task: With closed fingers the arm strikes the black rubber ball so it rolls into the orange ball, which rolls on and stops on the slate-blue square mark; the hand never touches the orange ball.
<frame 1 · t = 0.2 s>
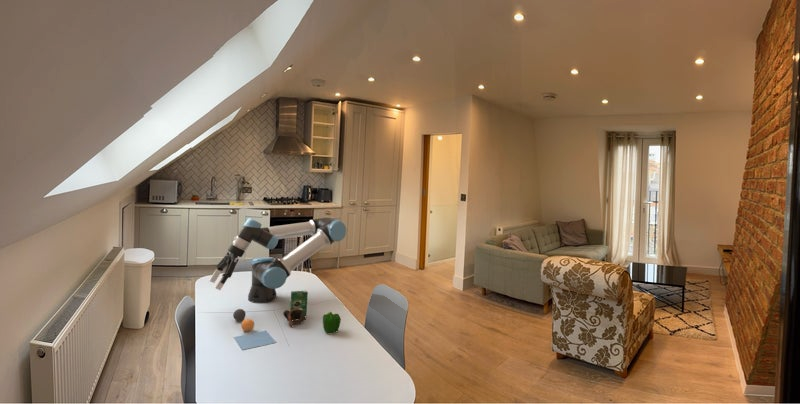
hand: (214, 285, 195), 15 cm above the table, tool tilted 30°, fingers open, 13 cm apart
bell pepper: (330, 332, 184), on the table
black ball: (239, 314, 191), on the table
orange ball: (247, 325, 180), on the table
pottery mug: (294, 324, 191), on the table
coffee box: (298, 317, 200), on the table
blue mark: (254, 340, 171), on the table
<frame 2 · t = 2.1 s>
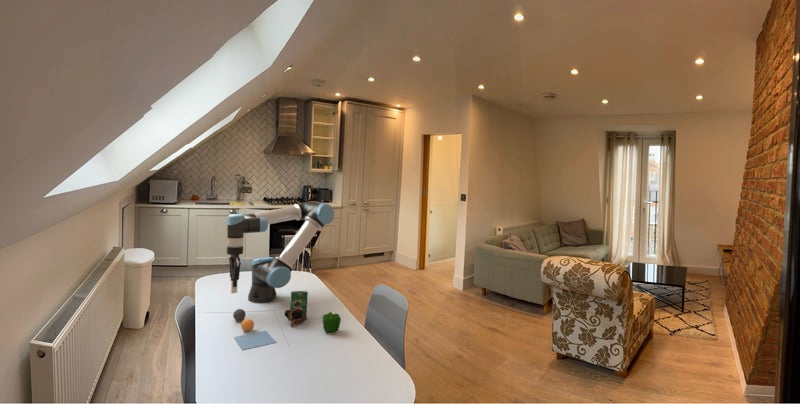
hand: (233, 292, 198), 11 cm above the table, tool pointing down, fingers closed
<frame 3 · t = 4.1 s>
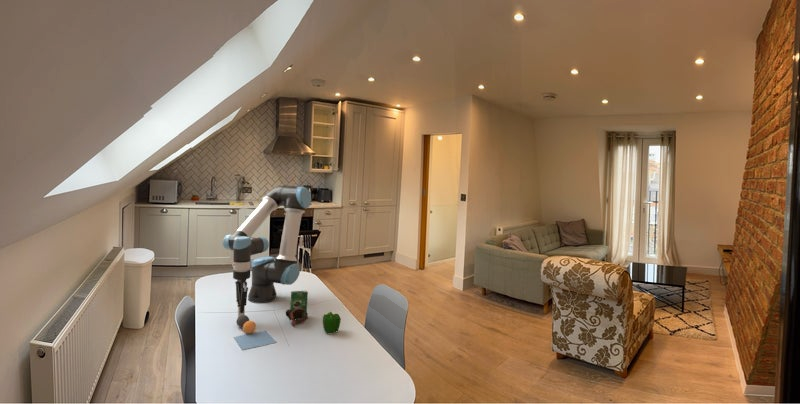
hand: (241, 318, 189), 2 cm above the table, tool pointing down, fingers closed
black ball: (242, 321, 184), on the table
orange ball: (249, 327, 178), on the table
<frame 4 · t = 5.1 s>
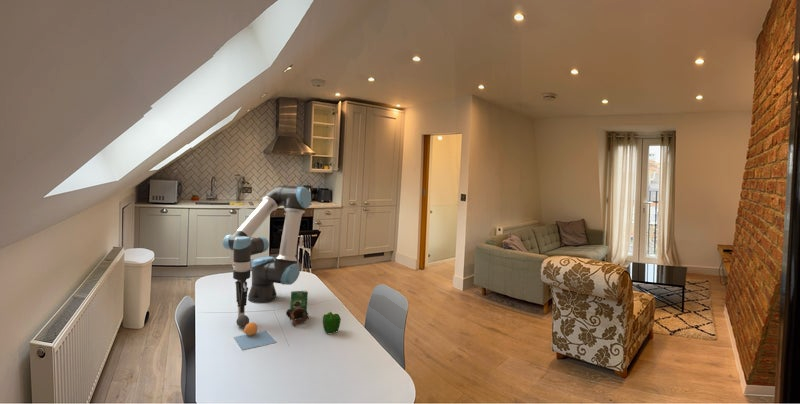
hand: (241, 318, 189), 2 cm above the table, tool pointing down, fingers closed
orange ball: (251, 329, 176), on the table
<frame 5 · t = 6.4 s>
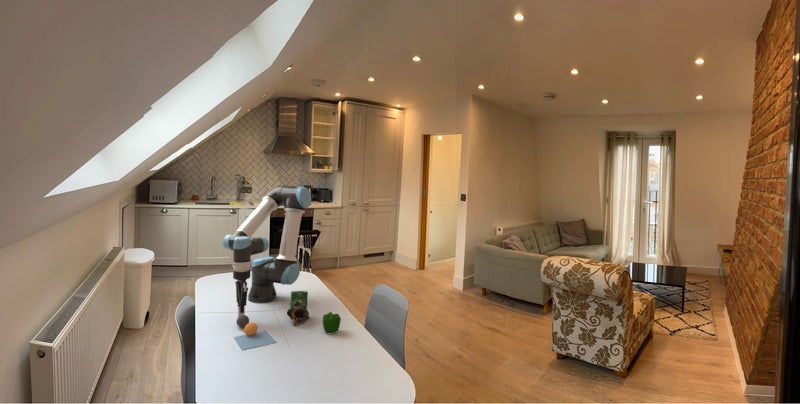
hand: (241, 318, 189), 2 cm above the table, tool pointing down, fingers closed
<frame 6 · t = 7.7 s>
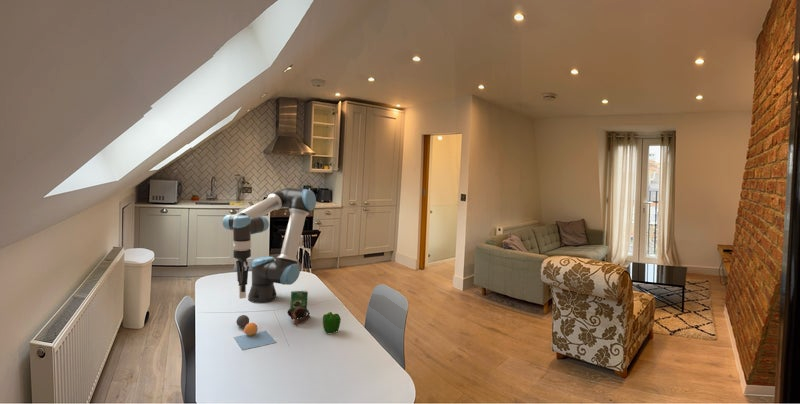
hand: (242, 297, 189), 12 cm above the table, tool pointing down, fingers closed
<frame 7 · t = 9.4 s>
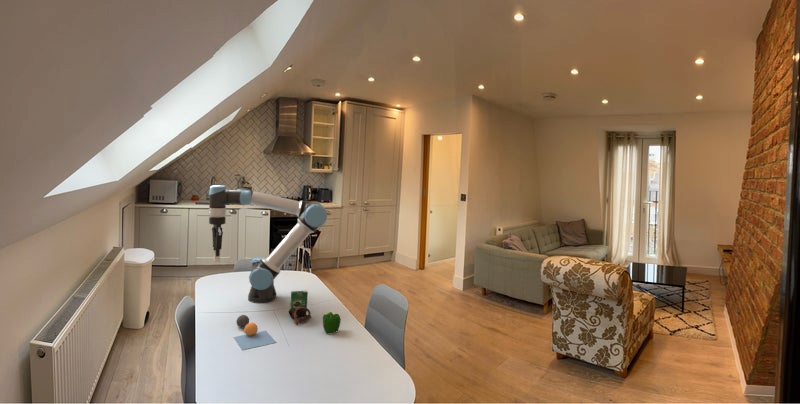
hand: (216, 262, 202), 24 cm above the table, tool pointing down, fingers closed
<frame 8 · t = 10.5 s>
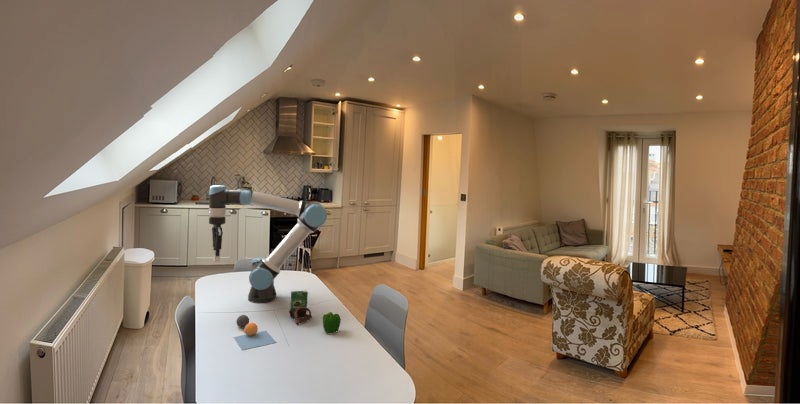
hand: (216, 262, 203), 24 cm above the table, tool pointing down, fingers closed
at the end: orange ball 5.7 cm from the blue mark (horizontally); orange ball never touched the robot; black ball first touched orange ball at 3.7 s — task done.
